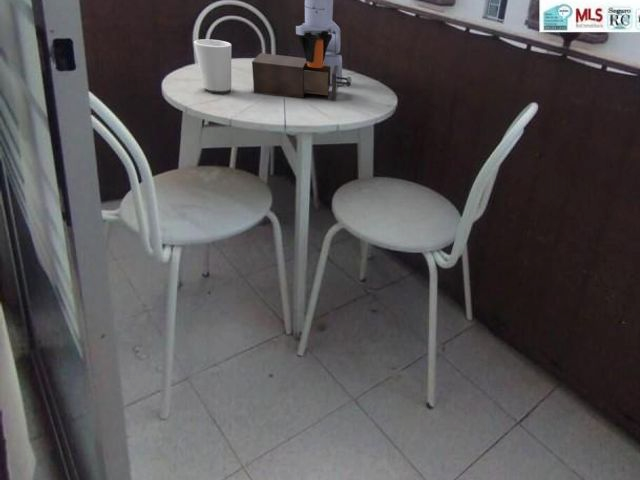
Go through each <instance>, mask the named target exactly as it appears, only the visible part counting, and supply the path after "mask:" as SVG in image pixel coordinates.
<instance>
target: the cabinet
mask: <svg viewBox="0 0 640 480" xmlns="http://www.w3.org/2000/svg"><path fill="white" fill-rule="evenodd" d="M306 64H307V61H306V58H305V57H299V56H298V57H297V56H288V55H282V54H281V55H280V54H272V53H263V52H260V53H259V54H258V55H257V56H256V57H255V58H254V59H253V60H252V61H251V70H252V82H253V84H252V85H253V93H255V94H260V95H261V94H263V95H272V96H280V97H291V98H300V99H304V97H305V96H306V93H304V87H303V69H304V67H305V65H306Z"/></svg>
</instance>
